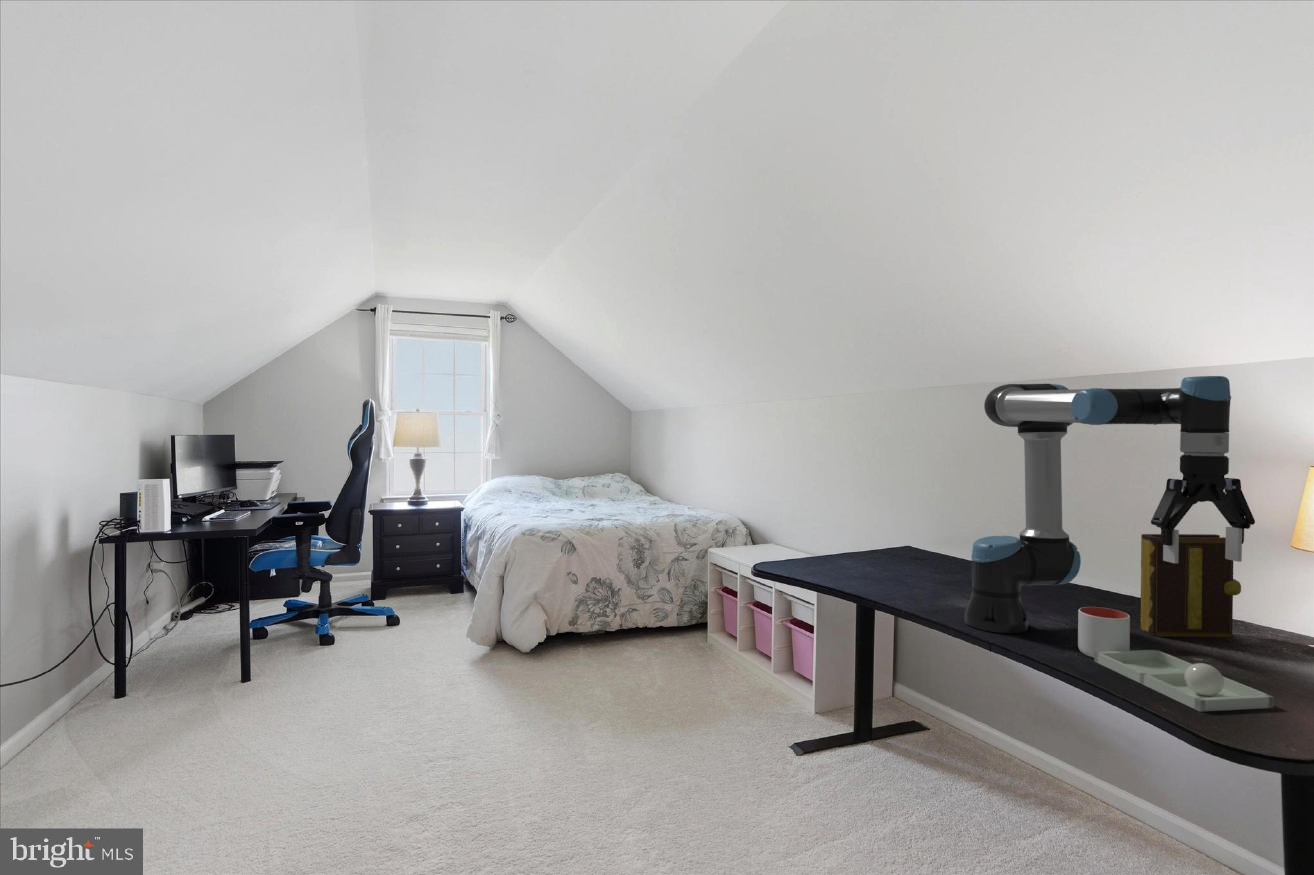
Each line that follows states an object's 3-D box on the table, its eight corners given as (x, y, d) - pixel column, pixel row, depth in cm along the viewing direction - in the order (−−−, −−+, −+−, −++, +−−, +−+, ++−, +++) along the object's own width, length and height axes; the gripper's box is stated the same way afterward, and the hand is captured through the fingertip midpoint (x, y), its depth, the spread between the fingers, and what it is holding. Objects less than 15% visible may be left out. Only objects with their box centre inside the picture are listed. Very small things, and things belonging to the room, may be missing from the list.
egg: (1176, 689, 133) (1176, 659, 133) (1203, 687, 134) (1204, 657, 133) (1203, 701, 127) (1204, 670, 127) (1232, 700, 128) (1232, 669, 127)
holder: (1094, 666, 149) (1094, 652, 149) (1156, 663, 150) (1156, 649, 150) (1199, 717, 123) (1199, 700, 123) (1273, 713, 124) (1273, 696, 124)
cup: (1109, 647, 161) (1109, 606, 161) (1140, 662, 151) (1140, 618, 151) (1068, 648, 161) (1068, 607, 161) (1097, 663, 151) (1097, 619, 151)
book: (1156, 637, 168) (1157, 538, 167) (1134, 627, 177) (1135, 533, 176) (1248, 639, 167) (1249, 539, 166) (1221, 628, 175) (1222, 533, 175)
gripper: (1162, 456, 127) (1160, 566, 128) (1280, 454, 130) (1278, 563, 130) (1130, 454, 135) (1128, 558, 135) (1243, 452, 137) (1240, 555, 138)
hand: (1202, 561), depth 133 cm, fingers open, 13 cm apart
